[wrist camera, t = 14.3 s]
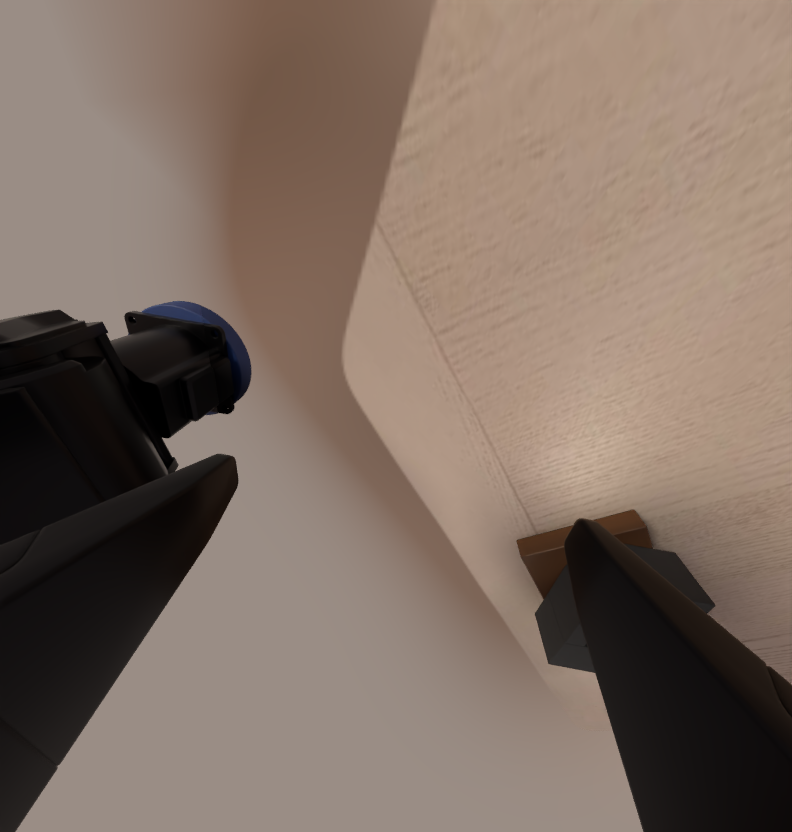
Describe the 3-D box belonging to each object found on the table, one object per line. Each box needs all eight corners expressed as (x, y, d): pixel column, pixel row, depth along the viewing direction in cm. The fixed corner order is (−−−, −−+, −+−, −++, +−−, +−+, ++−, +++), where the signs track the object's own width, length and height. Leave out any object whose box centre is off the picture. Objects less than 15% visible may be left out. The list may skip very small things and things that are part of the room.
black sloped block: (609, 627, 25) (633, 680, 22) (534, 613, 25) (548, 664, 22) (675, 552, 21) (716, 605, 18) (583, 535, 21) (609, 586, 18)
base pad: (516, 539, 24) (534, 606, 19) (634, 508, 21) (685, 577, 17) (555, 614, 28) (578, 683, 23) (659, 595, 25) (706, 669, 21)
